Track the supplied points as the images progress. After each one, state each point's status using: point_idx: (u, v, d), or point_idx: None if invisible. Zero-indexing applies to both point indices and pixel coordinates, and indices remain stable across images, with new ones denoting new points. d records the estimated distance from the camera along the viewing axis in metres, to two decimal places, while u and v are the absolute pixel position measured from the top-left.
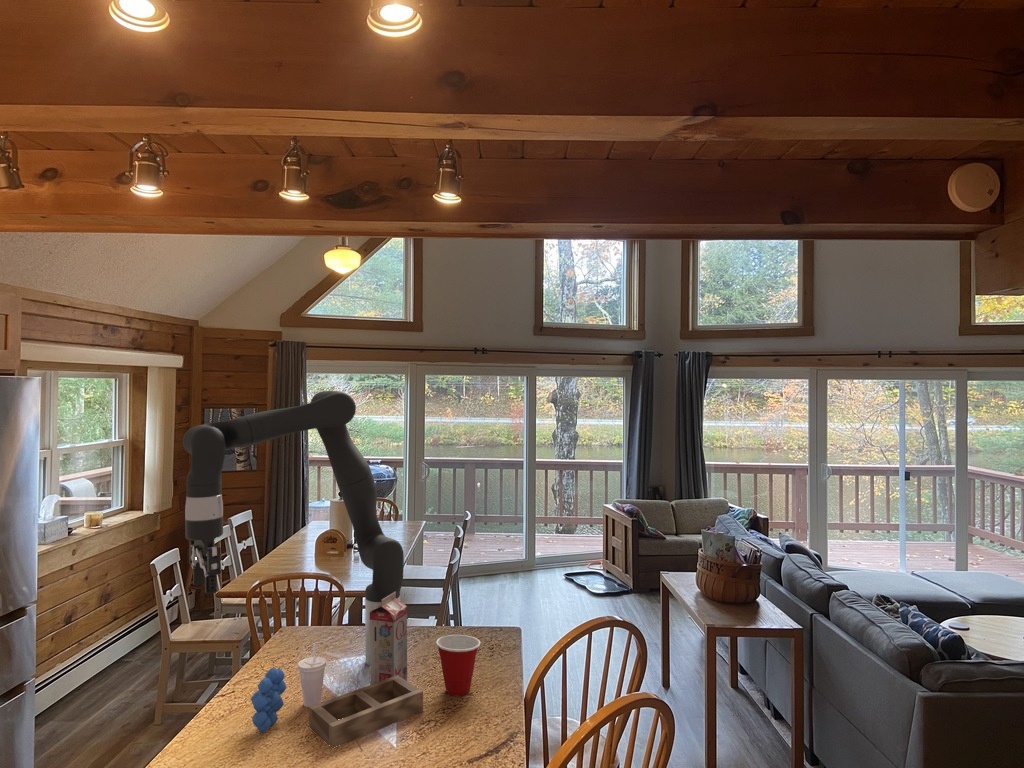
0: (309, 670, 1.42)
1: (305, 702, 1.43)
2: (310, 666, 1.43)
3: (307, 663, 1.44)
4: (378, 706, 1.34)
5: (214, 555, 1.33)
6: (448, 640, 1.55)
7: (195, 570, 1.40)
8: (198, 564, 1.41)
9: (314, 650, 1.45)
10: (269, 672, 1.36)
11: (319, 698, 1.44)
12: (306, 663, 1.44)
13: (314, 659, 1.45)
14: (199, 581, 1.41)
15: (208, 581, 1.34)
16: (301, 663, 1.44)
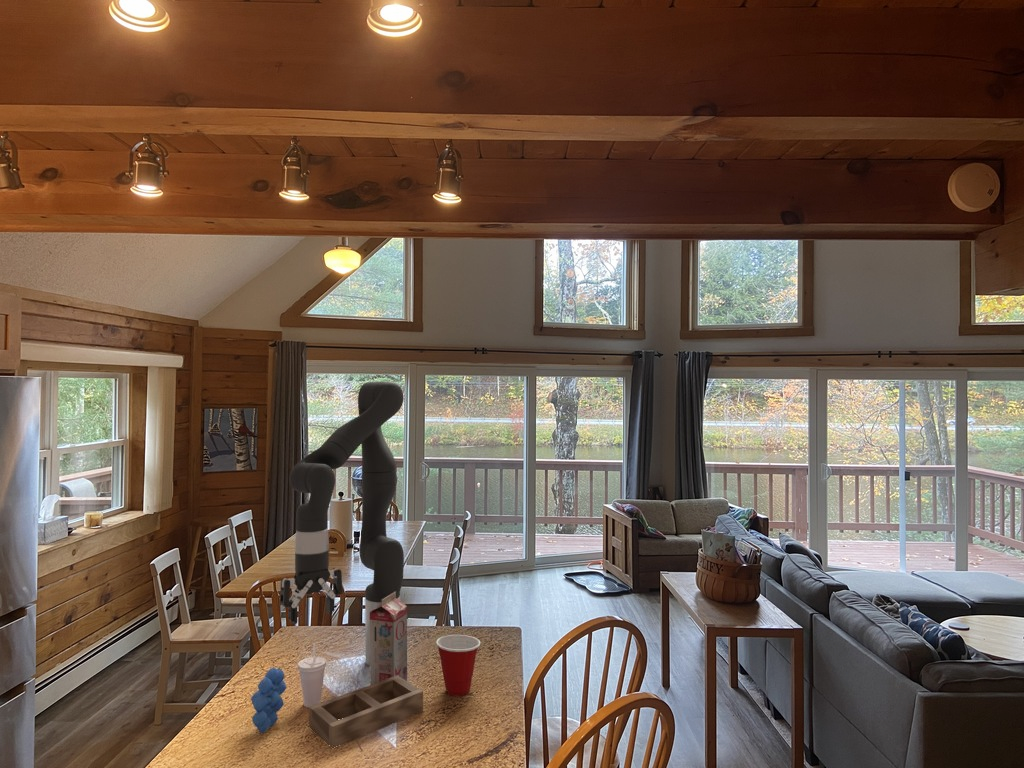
0: (309, 670, 1.42)
1: (305, 702, 1.43)
2: (310, 666, 1.43)
3: (307, 663, 1.44)
4: (378, 706, 1.34)
5: None
6: (448, 640, 1.55)
7: None
8: None
9: (314, 650, 1.45)
10: (269, 672, 1.36)
11: (319, 698, 1.44)
12: (306, 663, 1.44)
13: (314, 659, 1.45)
14: None
15: (332, 602, 1.48)
16: (301, 663, 1.44)
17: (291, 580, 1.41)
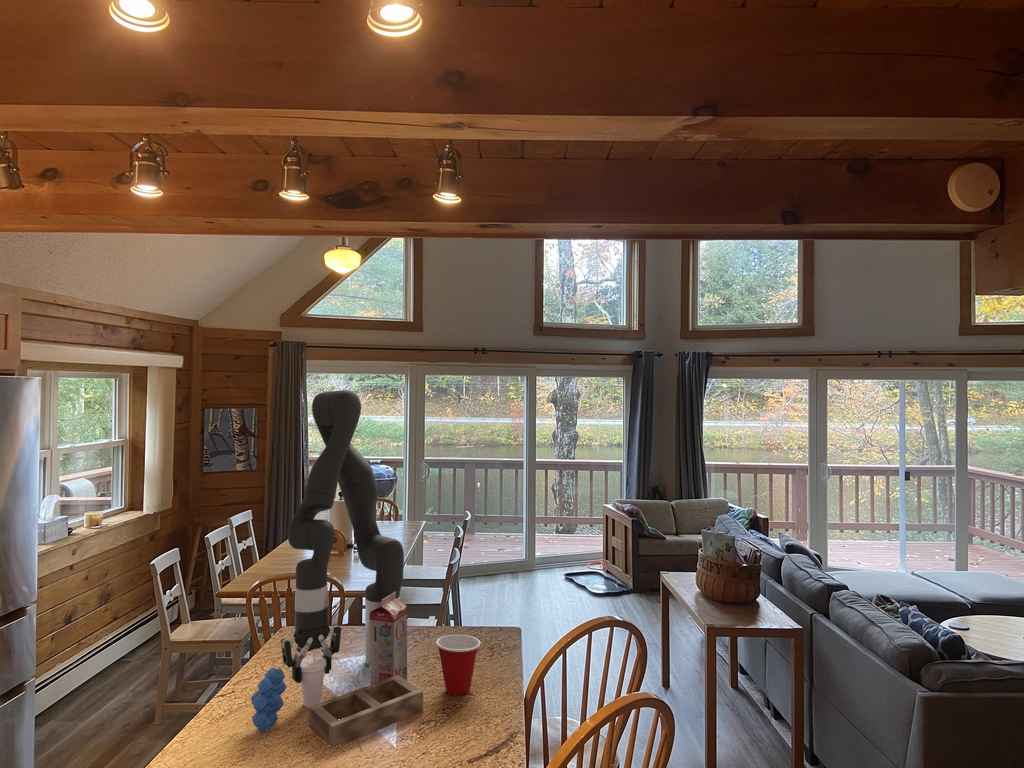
0: (309, 670, 1.42)
1: (305, 702, 1.43)
2: (310, 666, 1.43)
3: (307, 663, 1.44)
4: (378, 706, 1.34)
5: None
6: (448, 640, 1.55)
7: None
8: None
9: (314, 650, 1.45)
10: (269, 672, 1.36)
11: (319, 698, 1.44)
12: (306, 663, 1.44)
13: (314, 659, 1.45)
14: None
15: (329, 660, 1.47)
16: (301, 663, 1.44)
17: (291, 640, 1.41)
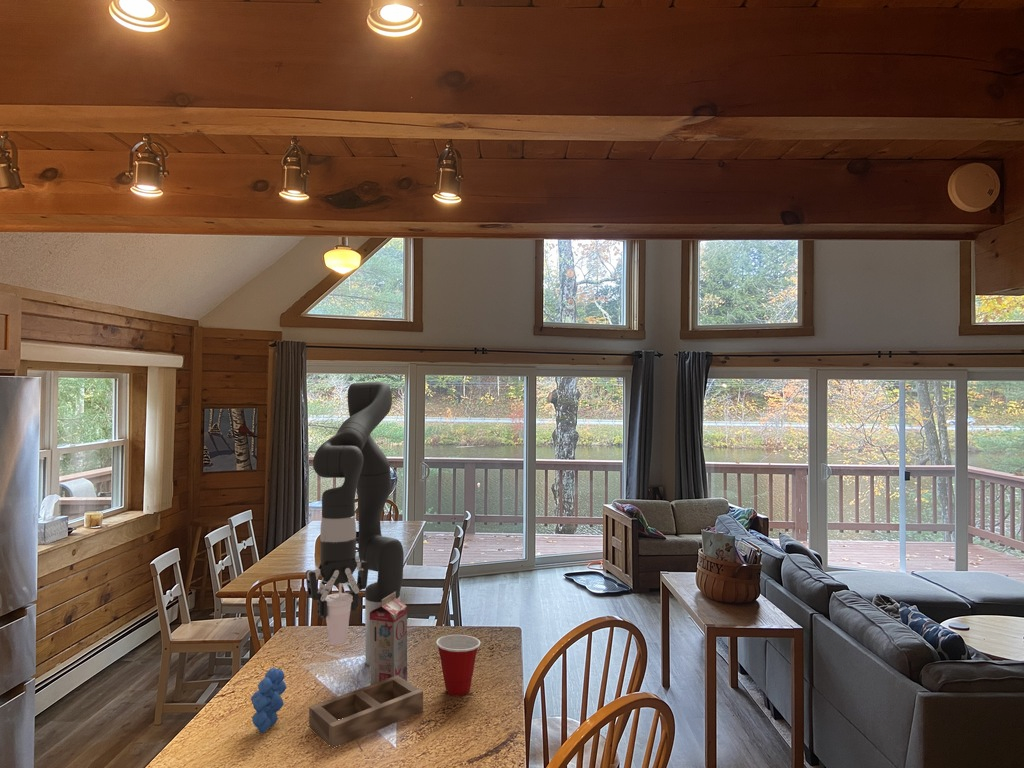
0: (335, 604, 1.33)
1: (330, 639, 1.34)
2: (336, 600, 1.34)
3: (333, 598, 1.35)
4: (378, 706, 1.34)
5: None
6: (448, 640, 1.55)
7: None
8: None
9: (340, 584, 1.36)
10: (269, 672, 1.36)
11: (344, 636, 1.35)
12: (332, 598, 1.36)
13: (340, 594, 1.36)
14: None
15: (356, 597, 1.38)
16: (326, 598, 1.36)
17: (316, 571, 1.33)
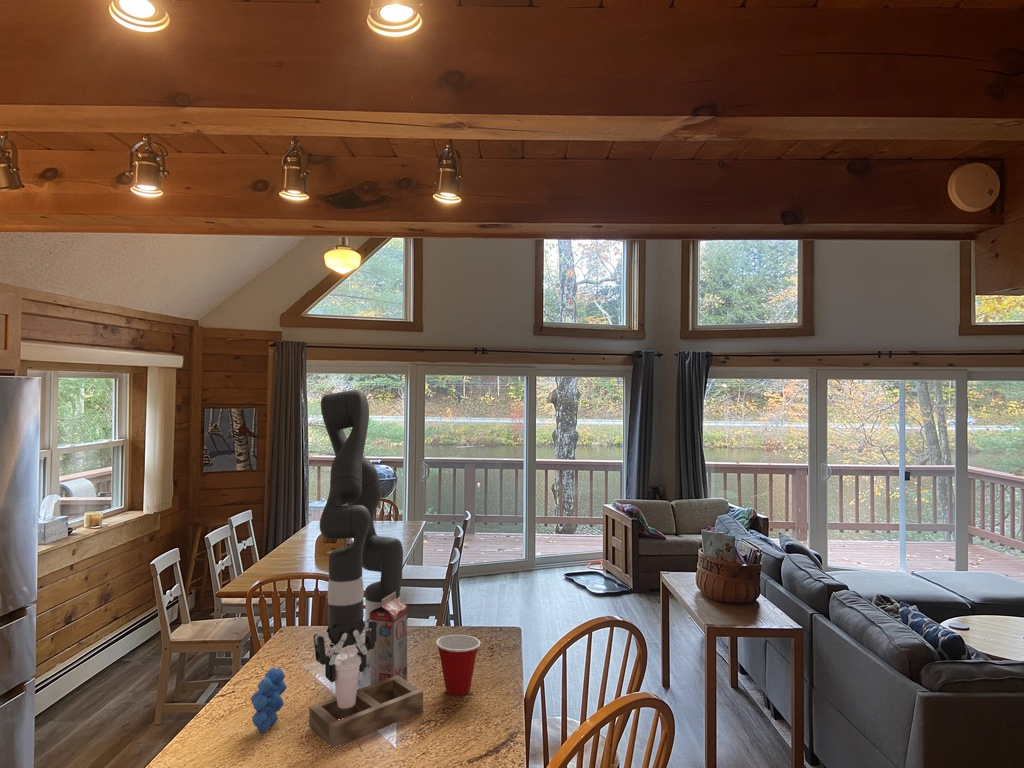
0: (344, 668, 1.31)
1: (339, 702, 1.33)
2: (344, 664, 1.32)
3: (341, 660, 1.34)
4: (378, 706, 1.34)
5: None
6: (448, 640, 1.55)
7: None
8: None
9: (348, 646, 1.34)
10: (269, 672, 1.36)
11: (353, 698, 1.34)
12: (340, 660, 1.34)
13: (348, 656, 1.34)
14: None
15: (364, 658, 1.37)
16: None
17: (324, 635, 1.31)
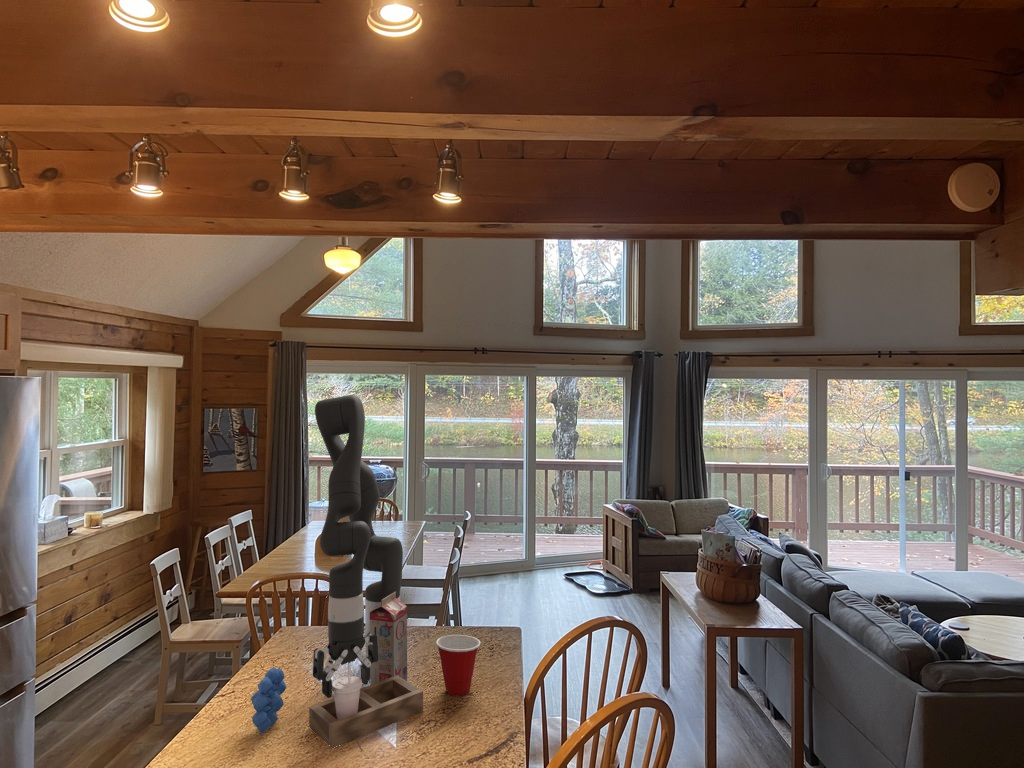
0: (344, 691, 1.31)
1: None
2: (345, 687, 1.32)
3: (342, 683, 1.34)
4: (378, 706, 1.34)
5: None
6: (448, 640, 1.55)
7: None
8: None
9: (349, 669, 1.34)
10: (269, 672, 1.36)
11: None
12: (341, 683, 1.34)
13: (349, 679, 1.34)
14: None
15: (368, 670, 1.37)
16: (335, 683, 1.34)
17: (325, 651, 1.31)
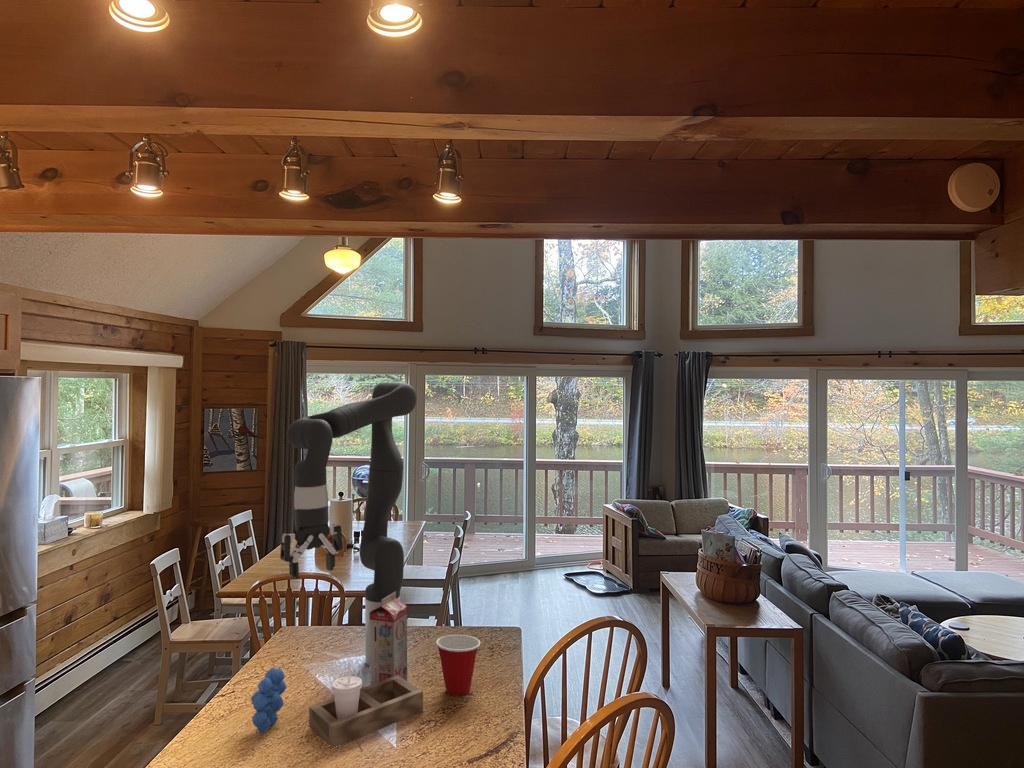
0: (344, 691, 1.31)
1: None
2: (345, 687, 1.32)
3: (342, 683, 1.34)
4: (378, 706, 1.34)
5: None
6: (448, 640, 1.55)
7: None
8: None
9: (349, 669, 1.34)
10: (269, 672, 1.36)
11: None
12: (341, 683, 1.34)
13: (349, 679, 1.34)
14: None
15: (333, 557, 1.48)
16: (335, 683, 1.34)
17: (291, 535, 1.41)
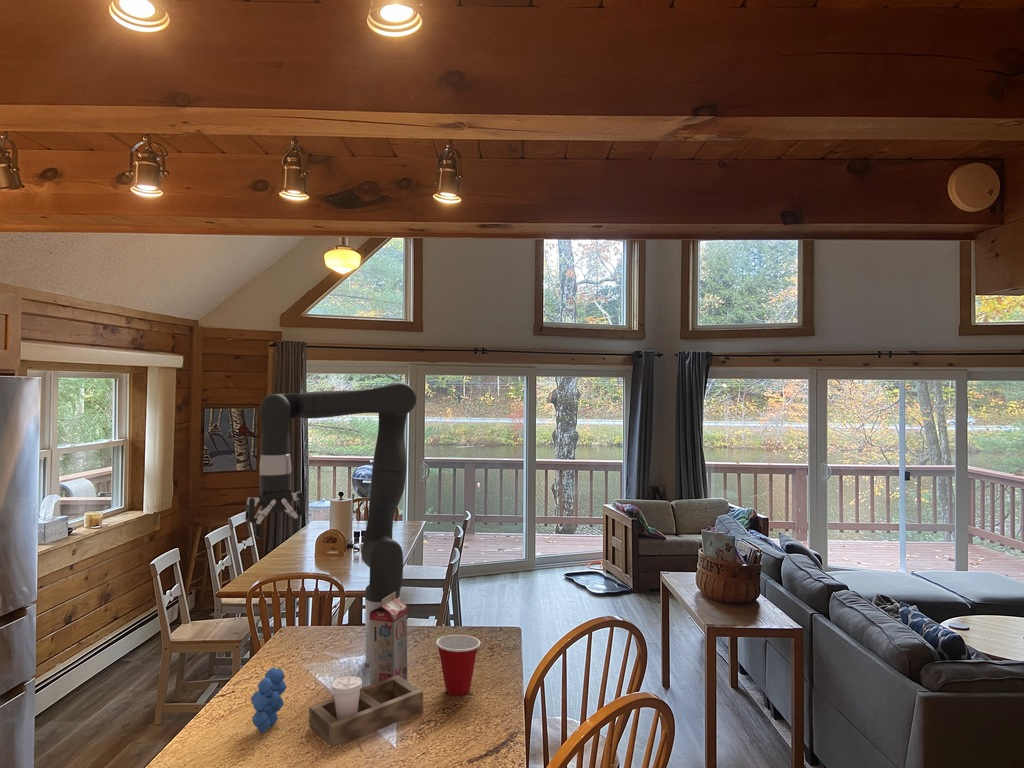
0: (344, 691, 1.31)
1: None
2: (345, 687, 1.32)
3: (341, 683, 1.34)
4: (378, 706, 1.34)
5: None
6: (448, 640, 1.55)
7: None
8: None
9: (349, 669, 1.34)
10: (269, 672, 1.36)
11: None
12: (340, 683, 1.34)
13: (349, 679, 1.34)
14: None
15: (295, 522, 1.61)
16: (335, 683, 1.34)
17: (256, 499, 1.55)
